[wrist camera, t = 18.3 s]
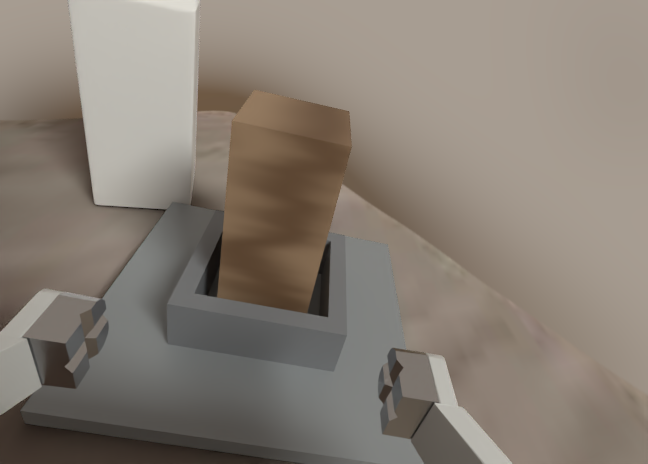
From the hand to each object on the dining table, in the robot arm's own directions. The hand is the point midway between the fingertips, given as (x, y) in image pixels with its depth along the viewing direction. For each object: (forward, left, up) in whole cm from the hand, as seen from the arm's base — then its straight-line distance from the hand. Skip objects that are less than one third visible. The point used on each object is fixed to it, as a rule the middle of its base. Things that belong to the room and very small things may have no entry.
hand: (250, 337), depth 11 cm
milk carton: (-12, +23, -10) cm, 27 cm away
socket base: (0, +11, -10) cm, 14 cm away
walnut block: (0, +11, -9) cm, 14 cm away
